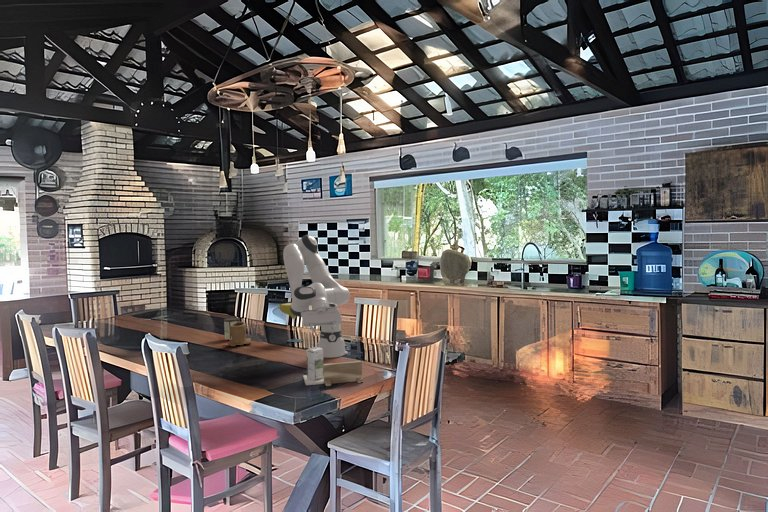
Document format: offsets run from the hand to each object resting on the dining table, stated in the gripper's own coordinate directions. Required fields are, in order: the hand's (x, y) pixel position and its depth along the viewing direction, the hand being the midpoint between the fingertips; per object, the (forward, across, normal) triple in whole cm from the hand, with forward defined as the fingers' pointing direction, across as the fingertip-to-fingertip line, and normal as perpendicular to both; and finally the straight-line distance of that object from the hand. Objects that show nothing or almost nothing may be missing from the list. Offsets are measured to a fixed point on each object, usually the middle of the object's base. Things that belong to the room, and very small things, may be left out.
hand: (323, 331), depth 263 cm
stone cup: (-44, -44, +71) cm, 94 cm away
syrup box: (+24, -6, +5) cm, 25 cm away
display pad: (+24, -7, +6) cm, 25 cm away
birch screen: (+30, +6, 0) cm, 31 cm away
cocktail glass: (-43, -10, +72) cm, 84 cm away
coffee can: (-59, -50, +86) cm, 115 cm away
